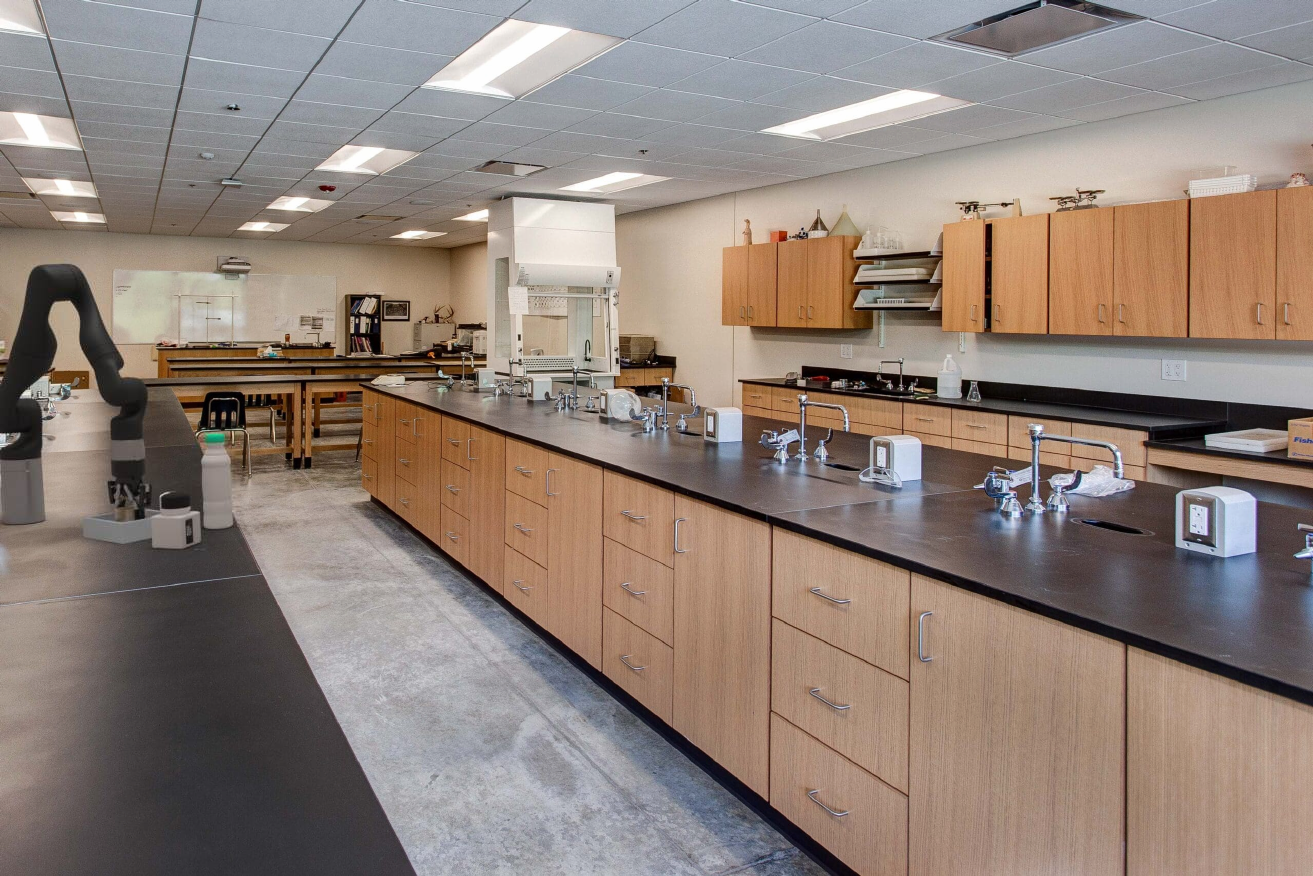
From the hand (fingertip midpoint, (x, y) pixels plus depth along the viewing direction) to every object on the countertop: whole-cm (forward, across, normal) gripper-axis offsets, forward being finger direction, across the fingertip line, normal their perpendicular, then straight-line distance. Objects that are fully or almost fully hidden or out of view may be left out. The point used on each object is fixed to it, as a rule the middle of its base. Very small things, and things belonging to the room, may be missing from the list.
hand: (131, 522), depth 226 cm
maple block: (+2, 0, 0) cm, 2 cm away
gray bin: (+3, 0, 0) cm, 3 cm away
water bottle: (+3, +10, +17) cm, 20 cm away
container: (+3, +20, -2) cm, 20 cm away
